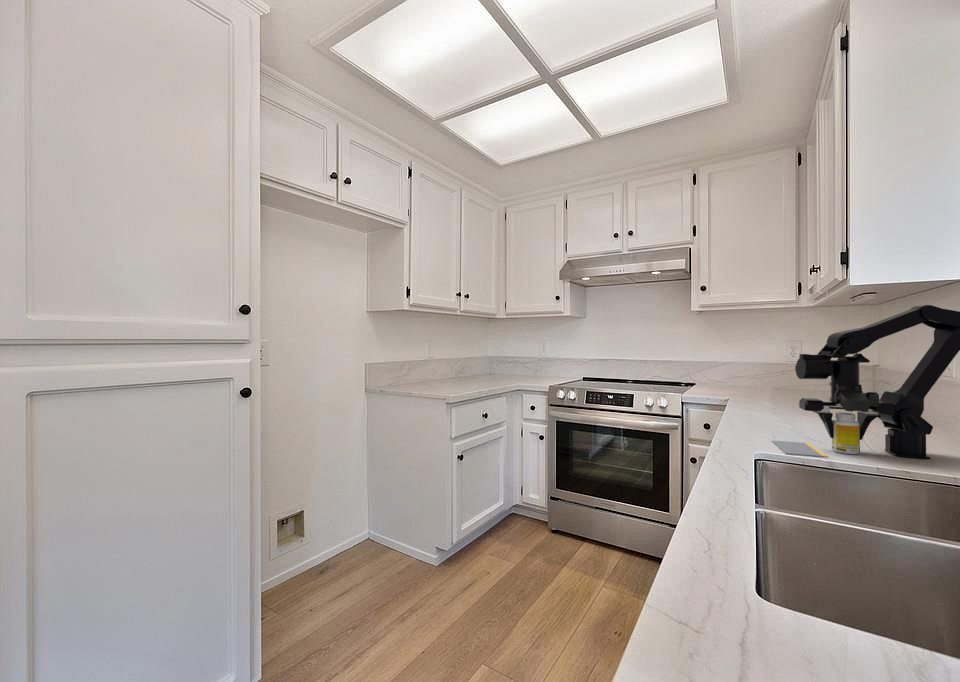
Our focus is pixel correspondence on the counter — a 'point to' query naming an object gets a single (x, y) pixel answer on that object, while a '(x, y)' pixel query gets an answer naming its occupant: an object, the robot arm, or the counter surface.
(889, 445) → the robot arm
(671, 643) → the counter surface
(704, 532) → the counter surface
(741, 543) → the counter surface
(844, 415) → the supplement bottle
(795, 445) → the mat
